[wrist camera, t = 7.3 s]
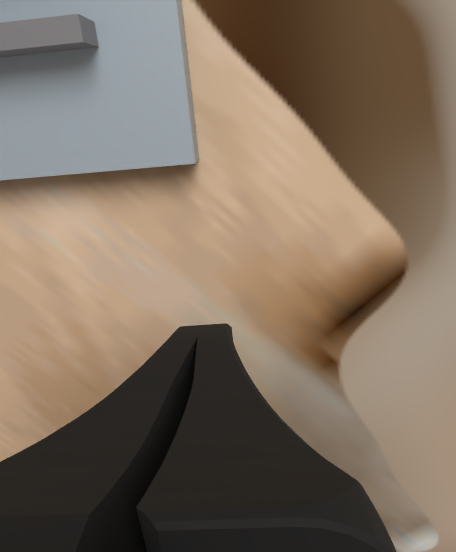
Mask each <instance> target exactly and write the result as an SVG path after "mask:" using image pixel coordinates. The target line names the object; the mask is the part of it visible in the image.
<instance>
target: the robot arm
mask: <svg viewBox="0 0 456 552" xmlns="http://www.w3.org/2000/svg"><path fill="white" fill-rule="evenodd" d="M0 552H396V549H395V547H394V545H393V543H392V540H391V538H390V536H389V534H388V532H387V530H386V528H385V526H384V524H383V522H382V520H381V518H380V516H379V514H378V512H377V511H376V509H375V507H374V505H373V504H372V502H371V500H370V498H369V497H368V495H367V493H366V492H365V490H364V488H363V487H362V485H361V484H360V483H359V482H358V481H357V480H356V479H354V478H353V477H351V476H350V475H348V474H347V473H345V472H344V471H342V470H341V469H339V468H338V467H336V466H335V465H333V464H332V463H330V462H329V461H328V460H326V459H325V458H323V457H322V456H321V455H320V454H318V453H317V452H316V451H315V450H314V449H312V448H311V447H310V446H309V445H308V444H306V443H305V442H304V441H303V440H302V439H301V438H300V437H299V436H298V435H297V434H296V433H295V432H294V431H293V430H292V429H291V428H290V427H289V426H288V425H287V424H286V423H285V422H284V421H283V420H282V419H281V418H280V417H279V416H278V415H277V413H276V412H275V411H274V410H273V409H272V408H271V406H270V405H269V404H268V403H267V401H266V400H265V399H264V397H263V396H262V395H261V393H260V392H259V391H258V389H257V388H256V386H255V385H254V383H253V381H252V380H251V378H250V377H249V375H248V373H247V371H246V370H245V368H244V366H243V364H242V362H241V360H240V358H239V356H238V354H237V351H236V349H235V346H234V343H233V337H232V328H231V327H230V326H229V325H228V324H212V325H197V326H182V327H179V328H178V329H177V330H176V331H175V332H174V333H173V334H172V335H171V337H170V338H169V339H168V340H167V341H166V342H165V343H164V344H163V345H162V346H161V347H160V348H159V349H158V350H157V351H156V352H155V353H154V354H153V355H152V356H151V357H150V358H149V359H148V360H147V361H146V362H145V363H144V364H143V365H142V366H141V367H140V368H139V369H138V370H137V371H136V372H135V373H134V374H132V375H131V376H130V377H129V378H128V379H127V380H126V381H125V382H124V383H122V384H121V385H120V386H119V387H118V388H117V389H116V390H114V391H113V392H112V393H111V394H109V395H108V396H107V397H106V398H104V399H103V400H102V401H100V402H99V403H98V404H96V405H95V406H94V407H92V408H91V409H89V410H88V411H87V412H85V413H84V414H82V415H81V416H80V417H78V418H76V419H75V420H73V421H72V422H70V423H68V424H67V425H65V426H64V427H62V428H60V429H59V430H57V431H56V432H54V433H52V434H51V435H49V436H48V437H46V438H44V439H43V440H41V441H39V442H37V443H35V444H34V445H32V446H30V447H28V448H26V449H24V450H23V451H21V452H19V453H17V454H15V455H13V456H11V457H9V458H7V459H5V460H3V461H1V462H0Z"/></svg>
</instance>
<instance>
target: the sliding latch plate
mask: <svg viewBox="0 0 456 552" xmlns="http://www.w3.org/2000/svg"><path fill="white" fill-rule="evenodd" d="M198 159H199V154H198V145H197V136H196V127H195V118H194V109H193V100H192V91H191V82H190V73H189V64H188V56H187V47H186V38H185V29H184V20H183V11H182V2H181V0H0V180H11V179H23V178H35V177H46V176H58V175H70V174H81V173H93V172H104V171H116V170H128V169H139V168H151V167H163V166H174V165H186V164H195V163H196V162H197V161H198Z"/></svg>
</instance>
